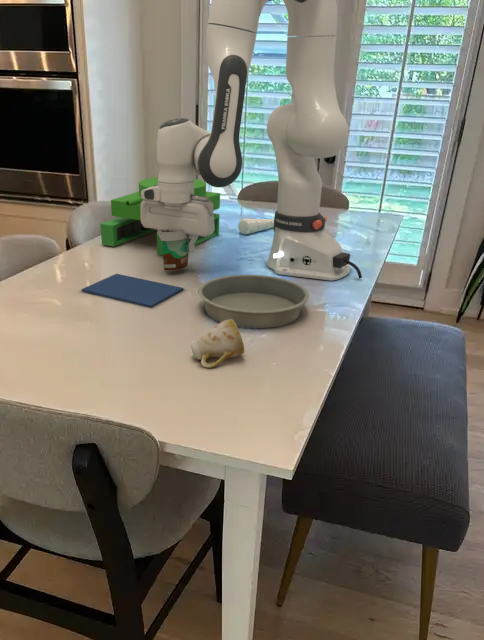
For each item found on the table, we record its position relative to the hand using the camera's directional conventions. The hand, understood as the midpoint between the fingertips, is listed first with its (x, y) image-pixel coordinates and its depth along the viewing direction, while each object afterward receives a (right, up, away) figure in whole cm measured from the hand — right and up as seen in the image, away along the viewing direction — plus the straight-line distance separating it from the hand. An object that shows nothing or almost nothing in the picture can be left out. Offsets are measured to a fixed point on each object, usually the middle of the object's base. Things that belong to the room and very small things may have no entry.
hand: (177, 249), depth 156 cm
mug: (+10, -33, -41) cm, 53 cm away
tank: (-7, +10, +27) cm, 29 cm away
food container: (+1, -4, +2) cm, 5 cm away
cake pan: (+18, -20, -19) cm, 33 cm away
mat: (-10, -13, -10) cm, 20 cm away
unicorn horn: (+26, +19, +43) cm, 54 cm away
